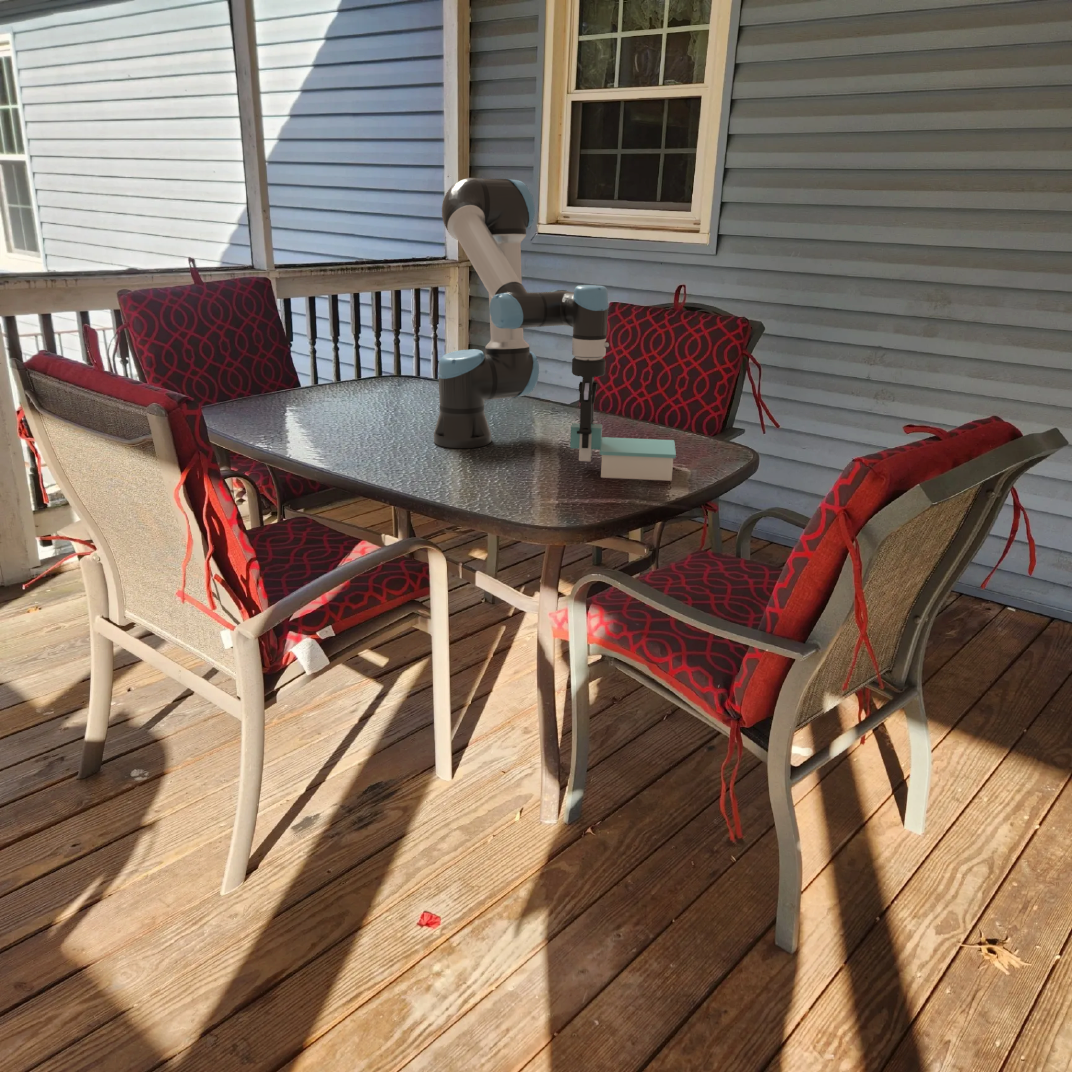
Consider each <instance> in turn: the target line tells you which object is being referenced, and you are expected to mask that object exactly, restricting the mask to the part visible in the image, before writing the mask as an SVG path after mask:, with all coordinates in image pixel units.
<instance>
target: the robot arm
mask: <svg viewBox="0 0 1072 1072" xmlns="http://www.w3.org/2000/svg"><path fill="white" fill-rule="evenodd" d="M531 191H532V190H530V188H529V187H528V186H527V184H525V182H523V181H521V180H518V179H510V178H479V177H478V178H477V177H467V178H463V179H461V180H458V181H457V182H455V183H454V184H453V185H451V187H449V189H448V190H447V192H446V193H445V195H444V198H443V199H442V205H441V217H442V222H443V224H444V227H445V228H446V230H447V232H448V234H449V235H450V236H451V238H453V240H457V241H458V242H459V244H460V247H461V248H462V249H463V252H464V253H465V255H466V256H467V258H468V260H469V262H470V263H471V265H472V267H473V268H474V270H475V271H476V274H477V275H478V277H479V279H480V280H481V282H482V284H483V286H484V288H485V289H486V291H487V293H488V303H489V304H488V305H489V323H490V324H489V326H490V328H489V329H490V340H489V342H488V343H487V344H486V345H485V354H484V351H482V350H480V349H475V348H474V349H473V348H472V349H471V348H470V349H460V350H454V351H450V352H448V353H445V354H443V355H442V356H441V357H440V358H439V361H438V372H437V376H438V397H439V398H438V399H439V415H438V418H437V421H436V424H435V428H434V432H433V443H434V444H435V445H437V446H440V447H442V448H451V449H473V448H480V447H484V446H487V445H489V444H490V443H491V442H492V432H491V429H490V426H489V423H488V420H487V417H486V414H485V401H487V400H489V401H490V400H498V399H500V400H501V399H507V398H513V399H516V398H518V397H522V396H523V397H525V396H528V395H529V394H531V393H532V392H534V389H535V388H536V386H537V384H538V381H539V376H540V364H539V361H538V358H537V355H536V354H535V353H534V352H533V351H530V344H529V343H528V342H526V340H525V339H524V329H525V328H538V327H557V326H564V327H565V326H567V327H570V328H571V327H572V342H571V344H572V345H571V346H572V350H571V355H572V356H573V358H572V360H571V373H572V375H573V376H576V377H581V378H582V379H581V380H582V381H579V384H578V391H579V401H578V402H579V403H580V411H579V412H580V414H579V423H580V429H579V431H577V434H580V442H579V449H578V451H579V452H578V461H579V462H591V461H592V459H591V458H592V456H593V449H591V440H592V431H591V424H594V421H595V420H594V419H595V418H594V410H595V409H594V408H595V407H594V406H595V405H594V404H595V403H596V402H595V400H596V392H597V389H598V388H597V387H598V382H597V381H595V378H600V377H602V376H604V375H606V363H607V362H606V361H607V360H606V359H605V356H606V354H607V353H606V352H607V348H609V346H610V344H609V342H606V341H607V335H608V317H609V315H608V314H609V306H610V305H609V290H608V288H607V287H606V286H604V285H600V284H599V285H595V284H583V285H582V284H580V285H579V284H578V285H576V286H575V288H574V291H569V290H566V289H554V290H551V291H545V292H543V291H542V292H527V290H526V288H525V287H524V285H523V282H522V279H523V278H522V252H521V248H522V247H521V243H522V242H523V240H524V239H525V238H526V237H527V229H529V228H531V227H532V225H533V223H534V219H535V215H536V207H535V201H534V197H533V194H532V192H531Z"/></svg>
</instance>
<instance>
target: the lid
mask: <svg viewBox="0 0 1072 1072" xmlns="http://www.w3.org/2000/svg"><path fill="white" fill-rule="evenodd" d="M570 425H571V426H570V440H569V441H570V442H569V444H570V445H569V448H570V449H578V450H579V442H580V434H577V431H579V429H580V422H579V423H577V422H572V423H571V424H570ZM591 431H592V440H591V449H592V450H598V451H599V455H600V456H602V455H615V456H637V457H660V458H673V459H676V456H677V453H676V445H675V440H674V439H655V438H654V439H653V438H634V437H633V438H631V437H612V436H611V437H610V436H609V437H607V436H605V437H604V436H602V434H603V424H602V423H593V424H591Z"/></svg>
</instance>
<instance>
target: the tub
mask: <svg viewBox="0 0 1072 1072" xmlns="http://www.w3.org/2000/svg"><path fill="white" fill-rule="evenodd" d="M600 464H601V468H600V478H602V479H603V478H604V479H605V478H606V479H623V480H624V479H625V480H628V479H629V480H650V481H664V482H665V481H667V482H668V481H670V482H671V481H673V480H672V479H673V468H674V467H673V466H674V458H660V457H637V456H615V455H601V463H600Z"/></svg>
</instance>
